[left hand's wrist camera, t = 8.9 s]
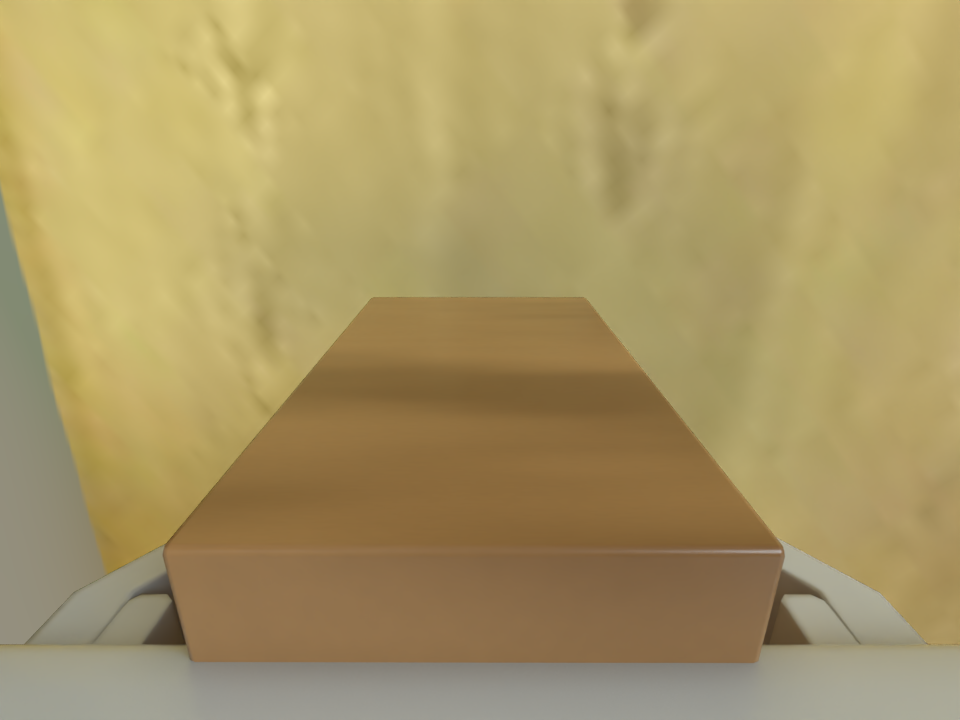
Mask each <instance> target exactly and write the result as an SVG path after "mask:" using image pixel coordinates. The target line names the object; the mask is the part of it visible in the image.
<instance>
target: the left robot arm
mask: <svg viewBox="0 0 960 720" xmlns="http://www.w3.org/2000/svg"><path fill="white" fill-rule="evenodd" d="M777 539H778V538H777ZM778 541H779V542H780V543H781V544H782V546H783V548H784V553H785V559H784V563H783V566H782V570H781V574H780V578H779V582H778V586H777V590H776V594H775V598H774V602H773V606H772V610H771V614H770V617H769V621H768V625H767V629H766V633H765V637H764V641H763V645H762V649H761V653H760V657H759V661H757V662H755V663H408V662H194V661H191V660H190V657H189V653H188V649H187V646H186V642H185V638H184V634H183V631H182V627H181V623H180V619H179V616H178V612H177V608H176V604H175V601H174V597H173V593H172V589H171V585H170V582H169V578H168V574H167V570H166V567H165V563H164V559H163V549H164V547H165V544H164V545H162V546H160V547H159V548H157V549H155V550H153V551H151V552H149V553H147V554H145V555H143V556H142V557H140V558H138V559H136V560H134V561H132V562H130V563H128V564H126V565H124V566H123V567H121V568H119V569H117V570H115V571H113V572H111V573H109V574H107V575H105V576H104V577H102V578H100V579H98V580H96V581H94V582H92V583H90V584H89V585H87V586H85V587H83V588H81V589H79V590H77V591H75V592H74V593H73V594H72V595H71V596H70V597H69V598H68V599H67V600H66V601H65V602H64V603H63V604H62V605H61V606H60V607H59V608H58V610H56V612H55V613H54V614H53V615H52V616H51V617H50V618H49V619H48V620H47V621H46V622H45V623H44V624H43V625H42V626H41V627H40V628H39V629H38V630H37V631H36V632H35V634H34V635H33V636H32V637H31V638H30V639H29V640H28V641H27V642H26V643H25V644H24V645H0V720H960V645H928V644H927V643H926V642H925V641H924V640H923V639H922V638H921V637H920V635H919V634H918V633H917V632H916V631H915V630H914V629H913V628H912V627H911V626H910V625H909V624H908V623H907V621H906V620H905V619H904V618H903V617H902V616H901V615H900V614H899V613H898V612H897V611H896V610H895V609H894V608H893V606H892V605H891V604H890V603H889V602H888V601H887V600H886V599H885V598H884V597H883V596H882V595H881V594H880V593H879V592H877V591H875V590H873V589H872V588H870V587H868V586H866V585H864V584H862V583H860V582H859V581H857V580H855V579H853V578H851V577H849V576H847V575H845V574H844V573H842V572H840V571H838V570H836V569H834V568H832V567H830V566H829V565H827V564H825V563H823V562H821V561H819V560H817V559H816V558H814V557H812V556H810V555H808V554H806V553H804V552H802V551H801V550H799V549H797V548H795V547H793V546H791V545H789V544H787V543H786V542H784V541H782V540H780V539H778Z"/></svg>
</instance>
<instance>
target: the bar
mask: <svg viewBox="0 0 960 720" xmlns="http://www.w3.org/2000/svg"><path fill="white" fill-rule="evenodd" d="M163 559H164V563H165V567H166V570H167V574H168V578H169V582H170V585H171V589H172V593H173V597H174V601H175V604H176V608H177V612H178V616H179V619H180V623H181V627H182V631H183V634H184V638H185V642H186V646H187V649H188V653H189V657H190V660H191V661H194V662H408V663H755V662H757V661H759V657H760V653H761V649H762V645H763V641H764V637H765V633H766V629H767V625H768V621H769V617H770V614H771V610H772V606H773V602H774V598H775V594H776V590H777V586H778V582H779V578H780V574H781V570H782V566H783V563H784V559H785V553H784V548H783V546H782V544H781V543H780V542H779V541H778V539H777V538H776V537H775V536H774V534H773V533H772V532H771V531H770V529H769V528H768V527H767V525H766V524H765V523H764V522H763V520H762V519H761V518H760V517H759V515H758V514H757V513H756V512H755V510H754V509H753V508H752V507H751V505H750V504H749V503H748V502H747V500H746V499H745V498H744V497H743V495H742V494H741V493H740V492H739V490H738V489H737V488H736V487H735V485H734V484H733V483H732V481H731V480H730V479H729V478H728V476H727V475H726V474H725V473H724V471H723V470H722V469H721V468H720V466H719V465H718V464H717V463H716V461H715V460H714V459H713V458H712V456H711V455H710V454H709V453H708V451H707V450H706V449H705V448H704V446H703V445H702V444H701V442H700V441H699V440H698V439H697V437H696V436H695V435H694V434H693V432H692V431H691V430H690V429H689V427H688V426H687V425H686V424H685V422H684V421H683V420H682V419H681V417H680V416H679V415H678V414H677V412H676V411H675V410H674V409H673V407H672V406H671V405H670V404H669V402H668V401H667V400H666V398H665V397H664V396H663V395H662V393H661V392H660V391H659V390H658V388H657V387H656V386H655V385H654V383H653V382H652V381H651V380H650V378H649V377H648V376H647V375H646V373H645V372H644V371H643V370H642V368H641V367H640V366H639V365H638V363H637V362H636V361H635V359H634V358H633V357H632V356H631V354H630V353H629V352H628V351H627V349H626V348H625V347H624V346H623V344H622V343H621V342H620V341H619V339H618V338H617V337H616V336H615V334H614V333H613V332H612V331H611V329H610V328H609V327H608V326H607V324H606V323H605V322H604V321H603V319H602V318H601V317H600V315H599V314H598V313H597V312H596V310H595V309H594V308H593V307H592V305H591V304H590V303H589V302H588V300H587V299H586V298H584V297H373V298H371V299H370V301H369V302H368V303H367V304H366V305H365V307H364V308H363V309H362V310H361V311H360V313H359V314H358V315H357V316H356V317H355V318H354V320H353V321H352V322H351V323H350V324H349V326H348V327H347V328H346V329H345V330H344V332H343V333H342V334H341V335H340V336H339V338H338V339H337V340H336V341H335V342H334V344H333V345H332V346H331V347H330V348H329V350H328V351H327V352H326V353H325V354H324V356H323V357H322V358H321V359H320V360H319V362H318V363H317V364H316V365H315V366H314V367H313V369H312V370H311V371H310V372H309V373H308V375H307V376H306V377H305V378H304V379H303V381H302V382H301V383H300V384H299V385H298V387H297V388H296V389H295V390H294V391H293V393H292V394H291V395H290V396H289V397H288V399H287V400H286V401H285V402H284V403H283V405H282V406H281V407H280V408H279V409H278V411H277V412H276V413H275V414H274V415H273V417H272V418H271V419H270V420H269V421H268V422H267V424H266V425H265V426H264V427H263V428H262V430H261V431H260V432H259V433H258V434H257V436H256V437H255V438H254V439H253V440H252V442H251V443H250V444H249V445H248V446H247V448H246V449H245V450H244V451H243V452H242V454H241V455H240V456H239V457H238V458H237V460H236V461H235V462H234V463H233V464H232V466H231V467H230V468H229V469H228V470H227V471H226V473H225V474H224V475H223V476H222V477H221V479H220V480H219V481H218V482H217V483H216V485H215V486H214V487H213V488H212V489H211V491H210V492H209V493H208V494H207V495H206V497H205V498H204V499H203V500H202V501H201V503H200V504H199V505H198V506H197V507H196V509H195V510H194V511H193V512H192V513H191V515H190V516H189V517H188V518H187V519H186V521H185V522H184V523H183V524H182V525H181V526H180V528H179V529H178V530H177V531H176V532H175V534H174V535H173V536H172V537H171V538H170V540H169V541H168V542H167V543H166V544H165V547H164V549H163Z"/></svg>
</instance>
